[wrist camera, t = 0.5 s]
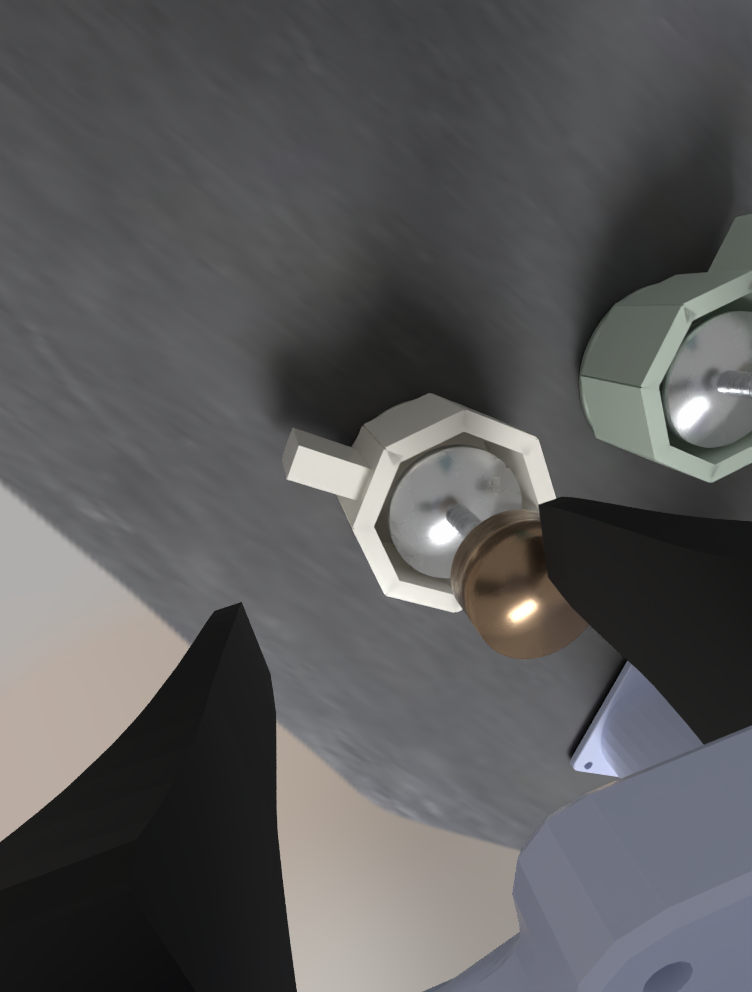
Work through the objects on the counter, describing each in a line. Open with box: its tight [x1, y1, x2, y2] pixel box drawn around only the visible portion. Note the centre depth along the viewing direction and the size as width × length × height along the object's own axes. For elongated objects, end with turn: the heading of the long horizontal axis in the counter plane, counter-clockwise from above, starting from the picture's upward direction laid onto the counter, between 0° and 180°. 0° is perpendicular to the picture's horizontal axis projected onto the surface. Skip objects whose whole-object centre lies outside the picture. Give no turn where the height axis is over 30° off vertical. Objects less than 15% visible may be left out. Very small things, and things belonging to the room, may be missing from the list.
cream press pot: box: [282, 393, 556, 613], centre depth 20 cm, size 10×7×4 cm
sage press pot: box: [579, 214, 752, 483], centre depth 21 cm, size 10×7×4 cm
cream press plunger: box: [386, 444, 589, 659], centre depth 17 cm, size 5×5×6 cm
